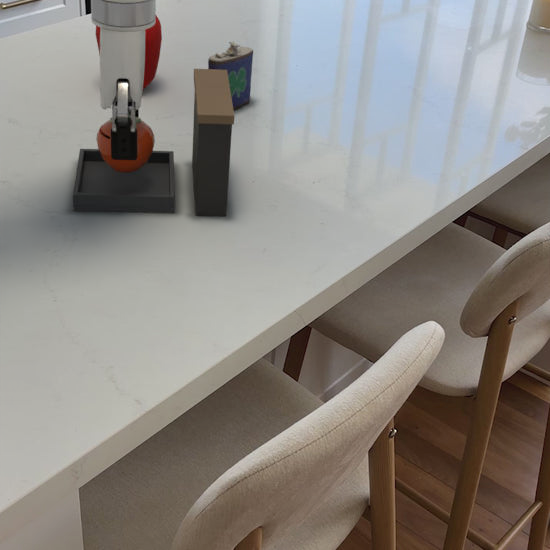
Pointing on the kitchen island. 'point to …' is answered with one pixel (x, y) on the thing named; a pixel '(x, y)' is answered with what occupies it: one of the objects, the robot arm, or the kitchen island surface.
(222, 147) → the tower
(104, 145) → the tomato
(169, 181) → the pan
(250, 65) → the flask
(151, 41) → the apple
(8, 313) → the kitchen island surface
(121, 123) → the robot arm
